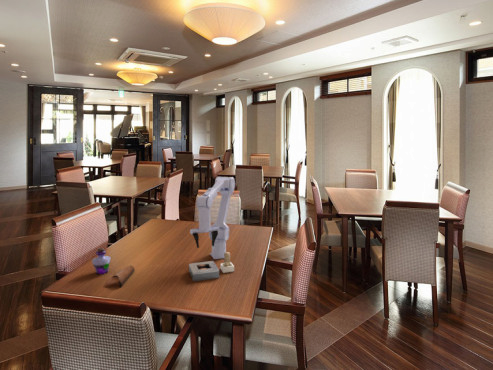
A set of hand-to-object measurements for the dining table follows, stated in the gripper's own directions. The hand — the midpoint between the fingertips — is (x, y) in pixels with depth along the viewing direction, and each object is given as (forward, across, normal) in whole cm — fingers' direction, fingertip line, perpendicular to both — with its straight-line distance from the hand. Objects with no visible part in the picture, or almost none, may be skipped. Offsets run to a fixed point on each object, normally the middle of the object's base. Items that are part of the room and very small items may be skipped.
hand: (205, 246), depth 169 cm
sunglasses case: (+11, -41, -2) cm, 42 cm away
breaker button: (+9, -3, -10) cm, 14 cm away
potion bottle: (+11, -49, +9) cm, 51 cm away
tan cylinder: (+10, +9, -8) cm, 16 cm away
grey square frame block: (+10, -3, -10) cm, 15 cm away
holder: (+10, +9, -8) cm, 16 cm away
